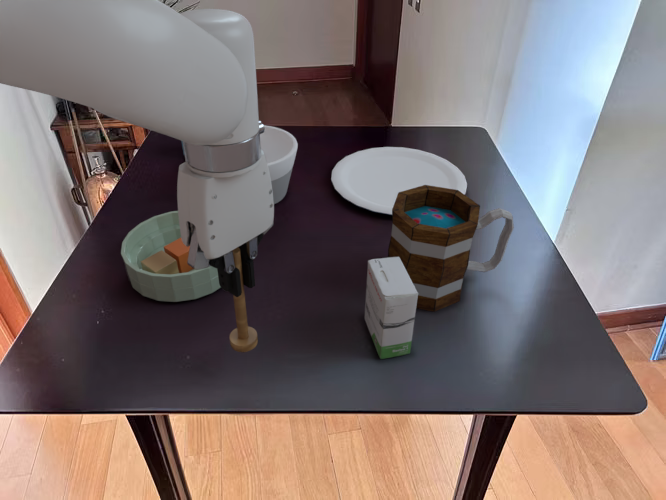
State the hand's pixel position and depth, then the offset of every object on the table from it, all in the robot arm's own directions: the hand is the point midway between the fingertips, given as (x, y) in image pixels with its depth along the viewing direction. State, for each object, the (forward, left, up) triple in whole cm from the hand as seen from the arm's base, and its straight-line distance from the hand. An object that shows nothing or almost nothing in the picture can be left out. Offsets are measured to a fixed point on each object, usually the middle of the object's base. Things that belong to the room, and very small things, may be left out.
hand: (237, 286), depth 62 cm
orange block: (+7, +24, -14) cm, 29 cm away
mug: (+33, -11, -15) cm, 38 cm away
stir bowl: (+7, +24, -15) cm, 29 cm away
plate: (+55, +13, -15) cm, 59 cm away
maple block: (+3, +24, -14) cm, 28 cm away
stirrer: (0, 0, -10) cm, 10 cm away
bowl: (+32, +34, -15) cm, 49 cm away
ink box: (+17, -11, -15) cm, 26 cm away
